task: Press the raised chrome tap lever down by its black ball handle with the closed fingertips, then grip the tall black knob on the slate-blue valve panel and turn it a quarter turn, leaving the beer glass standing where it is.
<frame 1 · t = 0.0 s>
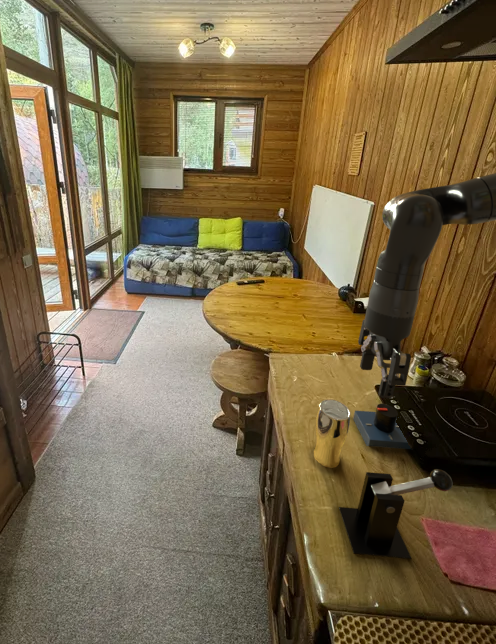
hand: (374, 381, 61), 27 cm above the kitchen counter, tool pointing down, fingers open, 8 cm apart
beer glass: (325, 460, 74), on the kitchen counter
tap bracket: (371, 535, 59), on the kitchen counter
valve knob: (385, 417, 80), point 6 cm above the kitchen counter, hinge at 0.0°
valve panel: (381, 434, 82), on the kitchen counter
tap lever: (411, 486, 54), point 13 cm above the kitchen counter, hinge at 25.0°
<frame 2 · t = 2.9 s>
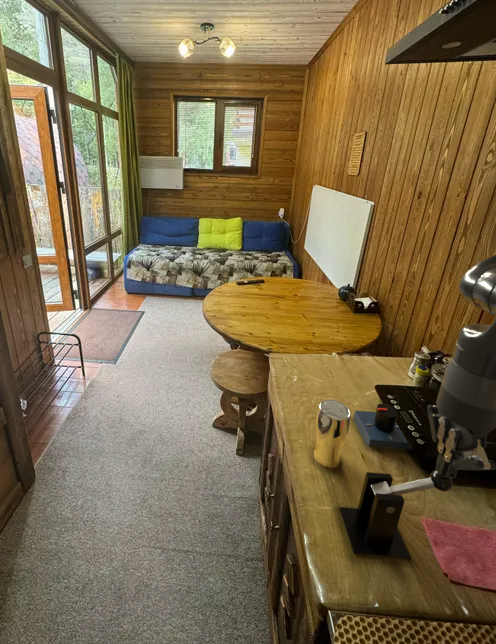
hand: (444, 473, 53), 17 cm above the kitchen counter, tool pointing down, fingers closed
tap lever: (411, 486, 54), point 13 cm above the kitchen counter, hinge at 24.1°, touching gripper
everything else where it was.
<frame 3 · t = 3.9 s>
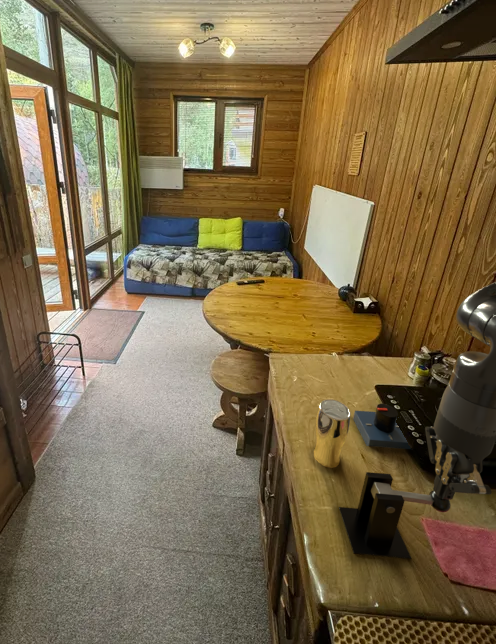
hand: (441, 494, 54), 12 cm above the kitchen counter, tool pointing down, fingers closed
tap lever: (411, 497, 55), point 11 cm above the kitchen counter, hinge at -4.5°, touching gripper
everything else where it was.
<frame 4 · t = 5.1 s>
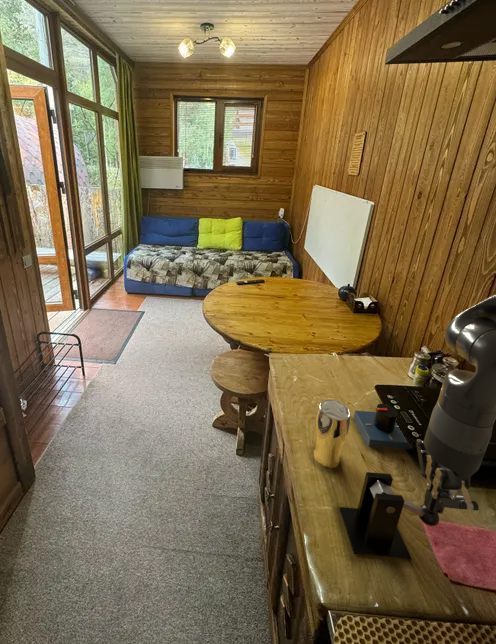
hand: (431, 508, 56), 8 cm above the kitchen counter, tool pointing down, fingers closed
tap lever: (406, 504, 56), point 9 cm above the kitchen counter, hinge at -26.5°
everything else where it was.
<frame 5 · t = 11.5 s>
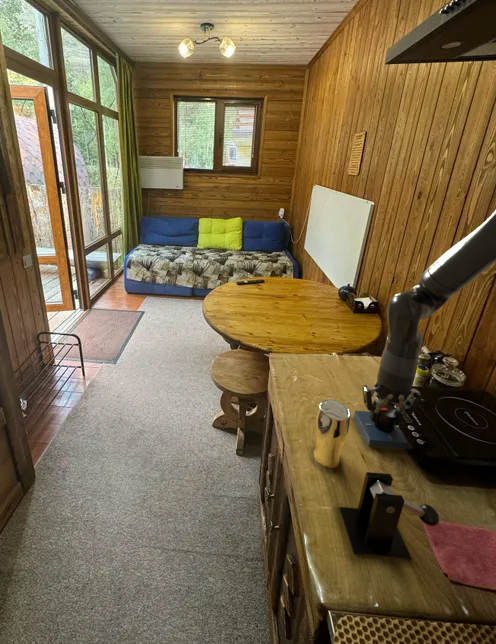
hand: (384, 422, 80), 4 cm above the kitchen counter, tool pointing down, fingers closed on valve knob, 5 cm apart
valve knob: (385, 417, 80), point 6 cm above the kitchen counter, hinge at -0.1°, touching gripper
everything else where it was.
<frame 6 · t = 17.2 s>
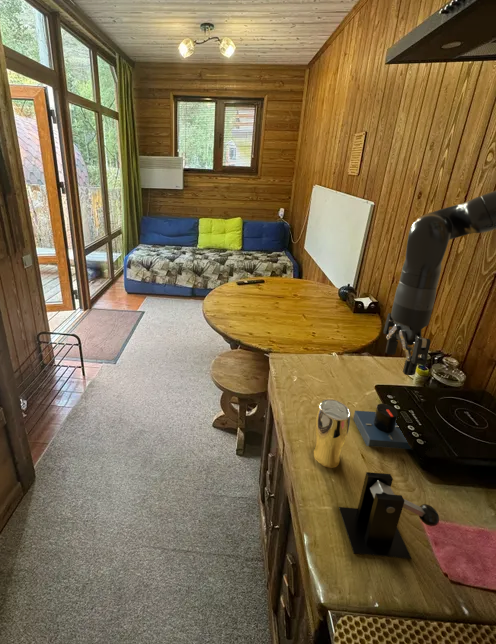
hand: (398, 363, 75), 22 cm above the kitchen counter, tool pointing down, fingers open, 8 cm apart
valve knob: (385, 417, 80), point 6 cm above the kitchen counter, hinge at 92.2°
everything else where it was.
at the end: tap lever at -26° (first picture: +25°); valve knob at +92° (first picture: +0°); beer glass moved 0.2 cm from its start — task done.
